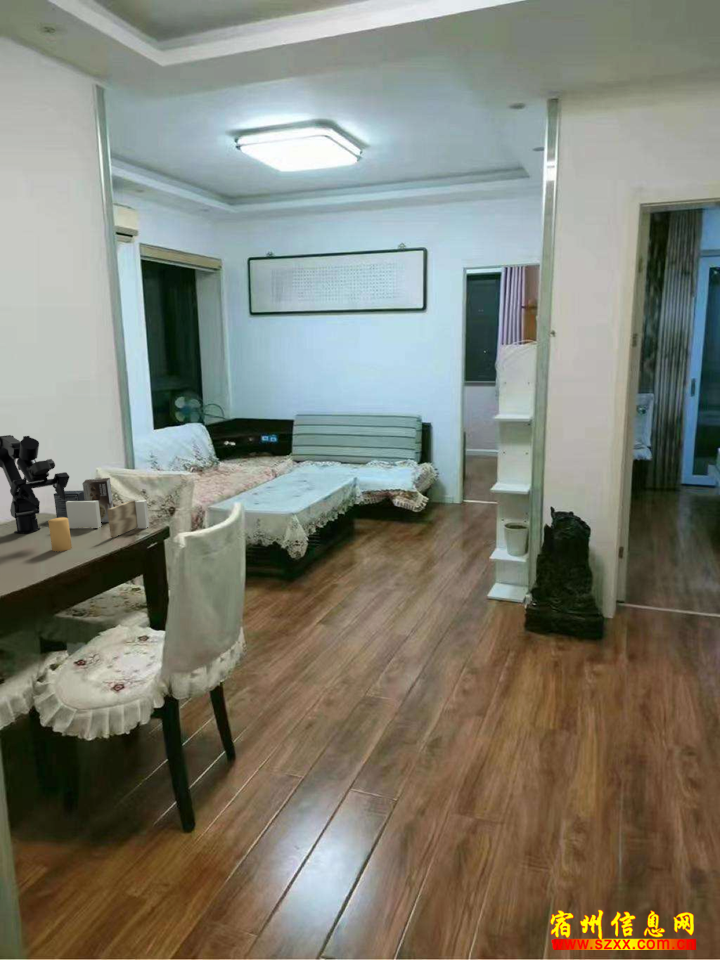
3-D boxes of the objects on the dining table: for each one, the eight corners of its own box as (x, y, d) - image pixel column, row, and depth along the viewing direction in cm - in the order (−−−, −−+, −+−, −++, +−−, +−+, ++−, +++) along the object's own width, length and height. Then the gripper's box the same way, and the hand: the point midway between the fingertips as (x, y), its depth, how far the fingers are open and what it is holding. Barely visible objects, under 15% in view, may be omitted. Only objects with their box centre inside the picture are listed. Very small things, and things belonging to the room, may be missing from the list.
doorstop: (48, 551, 220) (44, 522, 218) (59, 545, 225) (56, 517, 223) (64, 551, 218) (60, 522, 216) (75, 546, 224) (72, 517, 222)
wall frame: (149, 526, 246) (146, 500, 244) (146, 528, 244) (143, 501, 242) (71, 526, 250) (68, 500, 248) (68, 528, 247) (64, 502, 245)
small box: (90, 515, 267) (87, 489, 265) (81, 519, 260) (78, 493, 258) (65, 515, 268) (61, 490, 266) (56, 519, 261) (52, 493, 259)
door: (135, 526, 246) (132, 499, 244) (139, 526, 246) (136, 499, 244) (110, 537, 233) (107, 509, 231) (114, 537, 232) (111, 509, 230)
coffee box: (115, 517, 261) (110, 477, 258) (112, 522, 255) (107, 480, 251) (90, 519, 259) (85, 479, 256) (87, 524, 253) (82, 482, 250)
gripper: (8, 456, 220) (29, 489, 214) (62, 449, 234) (83, 480, 228) (1, 480, 226) (21, 513, 220) (55, 471, 240) (75, 502, 234)
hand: (51, 501), depth 226 cm, fingers open, 9 cm apart
